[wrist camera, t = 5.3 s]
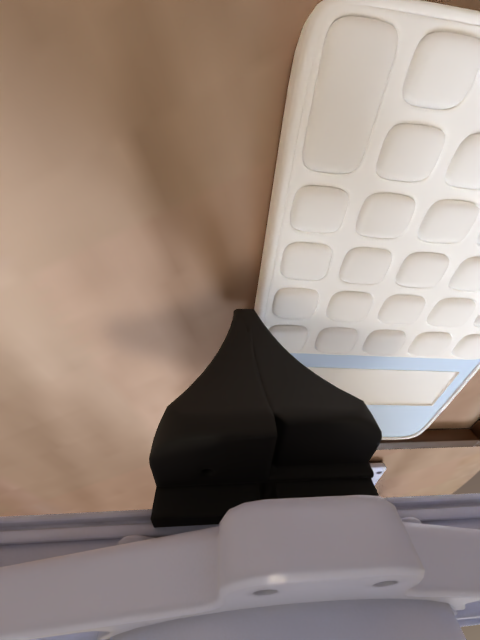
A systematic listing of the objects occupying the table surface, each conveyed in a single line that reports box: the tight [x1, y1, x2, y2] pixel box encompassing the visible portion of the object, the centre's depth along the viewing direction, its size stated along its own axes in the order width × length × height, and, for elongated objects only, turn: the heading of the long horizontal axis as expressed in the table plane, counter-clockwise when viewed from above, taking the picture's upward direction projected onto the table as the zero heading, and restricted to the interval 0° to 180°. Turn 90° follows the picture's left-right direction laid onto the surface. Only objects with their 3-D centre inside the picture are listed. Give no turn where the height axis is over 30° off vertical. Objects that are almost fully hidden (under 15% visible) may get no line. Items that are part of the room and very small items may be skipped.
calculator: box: [254, 0, 480, 440], centre depth 13 cm, size 13×20×2 cm, turn 174°
